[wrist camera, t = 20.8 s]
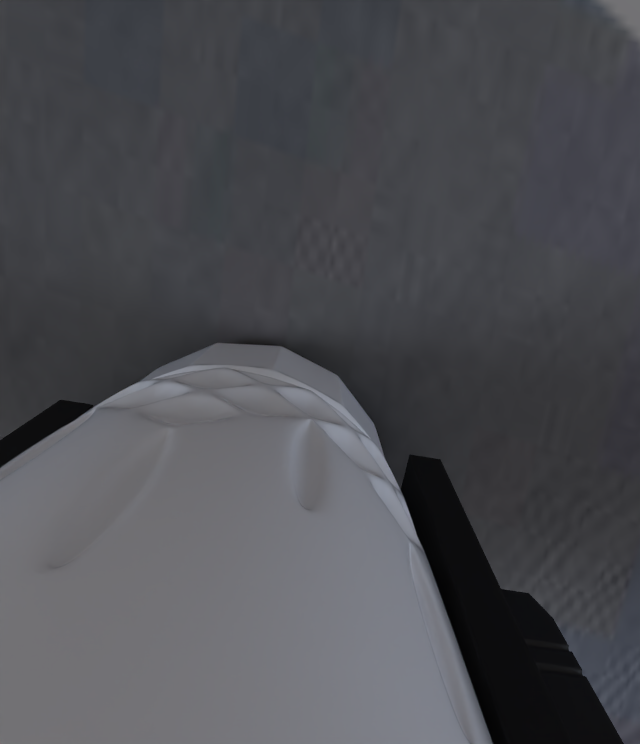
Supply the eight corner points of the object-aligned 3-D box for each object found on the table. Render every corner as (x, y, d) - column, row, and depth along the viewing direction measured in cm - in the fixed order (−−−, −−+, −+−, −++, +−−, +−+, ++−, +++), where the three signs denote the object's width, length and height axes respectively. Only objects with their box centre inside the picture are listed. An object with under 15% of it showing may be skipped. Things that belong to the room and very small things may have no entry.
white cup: (460, 497, 12) (928, 1481, 3) (229, 631, 14) (5, 1549, 4) (278, 246, 10) (-345, 560, 1) (33, 433, 12) (-1163, 1295, 2)
